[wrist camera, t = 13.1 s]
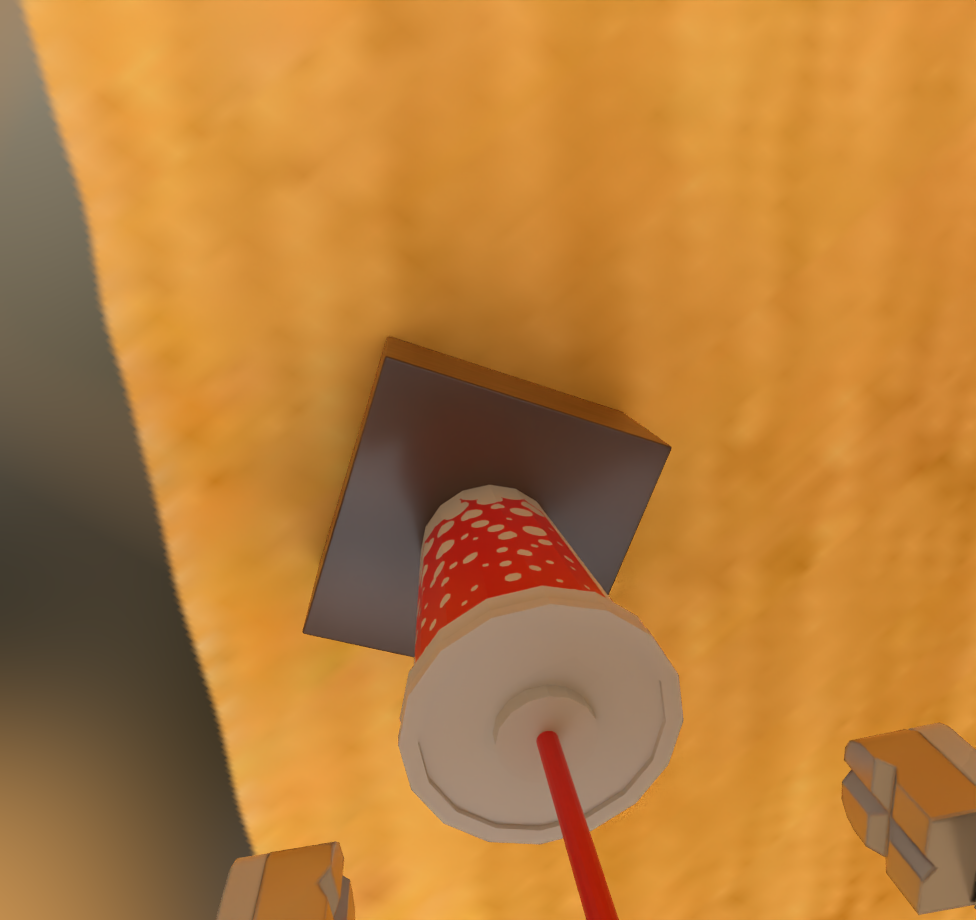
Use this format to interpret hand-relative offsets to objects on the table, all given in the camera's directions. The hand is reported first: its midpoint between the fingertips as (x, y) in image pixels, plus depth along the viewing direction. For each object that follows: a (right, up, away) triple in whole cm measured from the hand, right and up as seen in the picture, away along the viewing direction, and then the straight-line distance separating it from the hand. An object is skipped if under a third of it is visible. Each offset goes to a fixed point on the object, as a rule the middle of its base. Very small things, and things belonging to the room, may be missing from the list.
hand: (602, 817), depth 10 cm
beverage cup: (-2, +3, +12) cm, 13 cm away
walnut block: (-2, +4, +17) cm, 17 cm away
